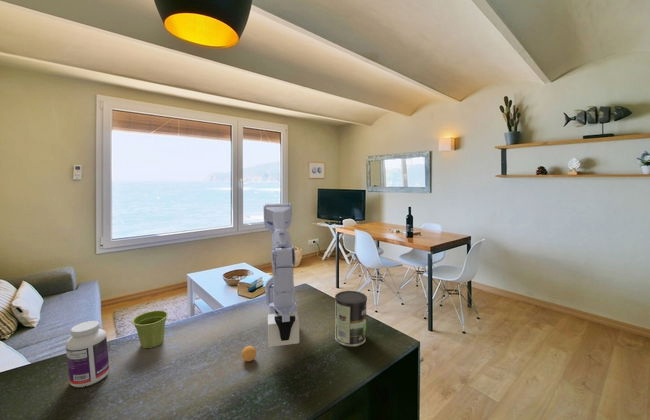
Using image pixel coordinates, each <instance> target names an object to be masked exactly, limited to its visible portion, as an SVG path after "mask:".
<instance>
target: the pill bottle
mask: <svg viewBox="0 0 650 420" xmlns="http://www.w3.org/2000/svg"><path fill="white" fill-rule="evenodd" d="M70 335H71V336H70V337H69V338H68V339H67V340H66V342H65V351H66V352H65V353H66V359H67V360H66V361H67V369H68V380H69V384H70V385H71V386H72V387H75V388H85V386H86V387H88V386H89V387H90V386H91V385H94V384H96V383H98V382H100V381H101V380H102V379H104V378H105V377H106V376H107V375H108V374H109V371H110V362H109V361H110V360H109V350H108V340H107V338H108V337H107V332H106V331H105V330H104V329H102V328H100V322H99V321H97V320H89V321H84V322H80V323H78V324H75V325H74V326H72V328H71V329H70Z"/></svg>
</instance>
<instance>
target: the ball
mask: <svg viewBox="0 0 650 420" xmlns="http://www.w3.org/2000/svg"><path fill="white" fill-rule="evenodd" d="M256 356H257V349H256V347H255V346H252V345H247V346H245V347H244V348H243V349H242V351H241V357H242V360H244V361H245V362H252V361H253V360H255V358H256Z"/></svg>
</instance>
